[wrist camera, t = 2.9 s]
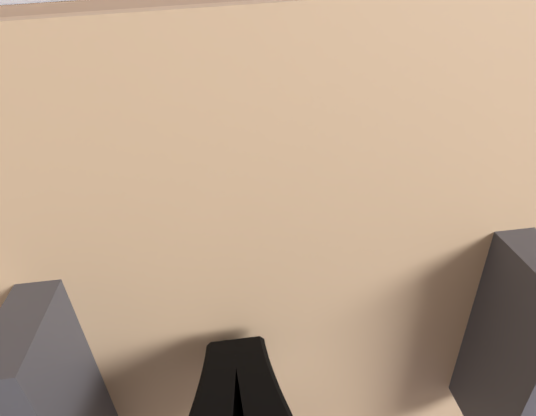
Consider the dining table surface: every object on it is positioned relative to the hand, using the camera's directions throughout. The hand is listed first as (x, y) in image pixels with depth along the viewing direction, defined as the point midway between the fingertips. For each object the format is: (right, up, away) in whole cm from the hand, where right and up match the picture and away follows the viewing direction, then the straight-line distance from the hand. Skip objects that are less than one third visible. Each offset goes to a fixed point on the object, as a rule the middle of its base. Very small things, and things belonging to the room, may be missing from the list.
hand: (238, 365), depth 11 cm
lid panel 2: (+6, +1, +1) cm, 6 cm away
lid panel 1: (-4, 0, +1) cm, 4 cm away
